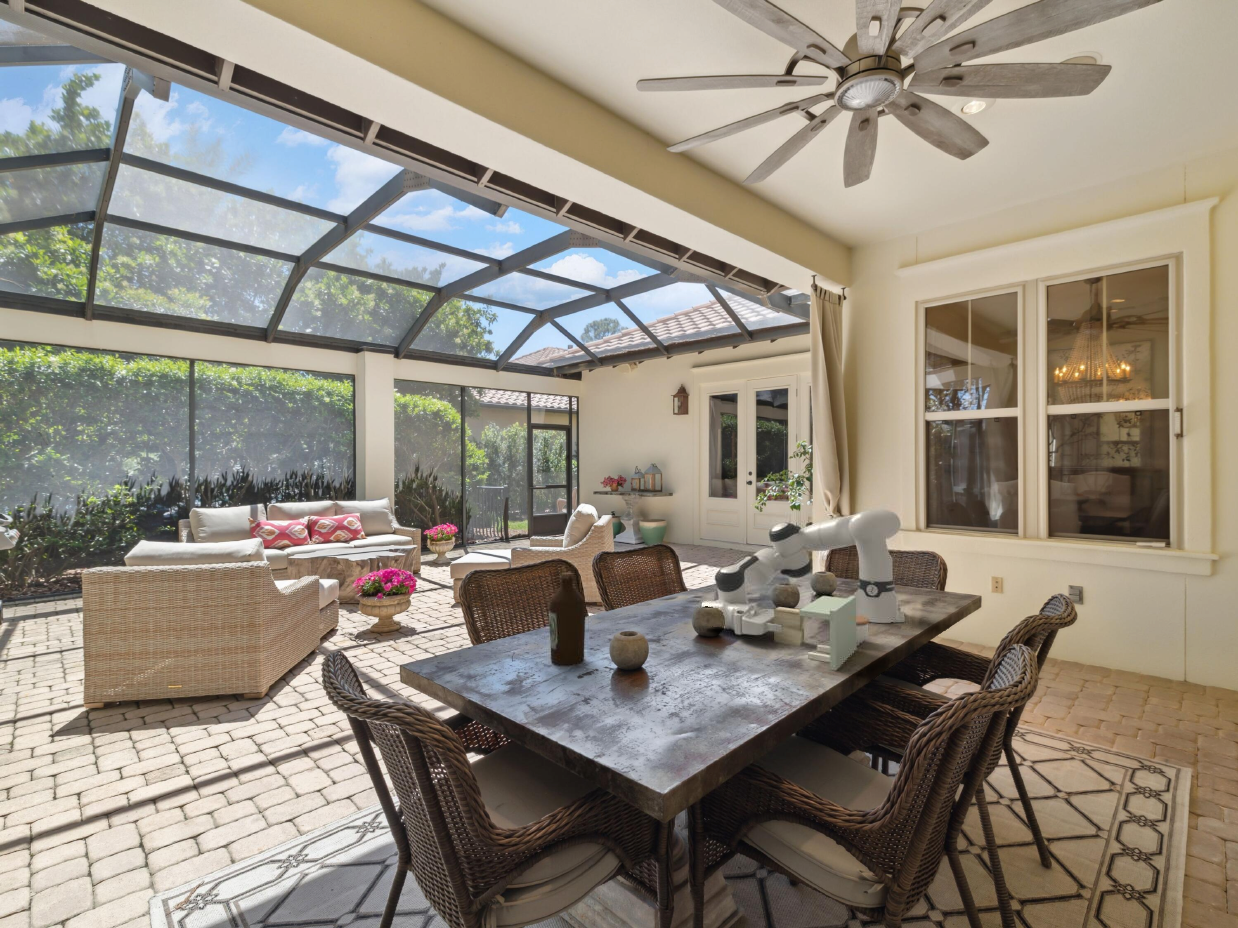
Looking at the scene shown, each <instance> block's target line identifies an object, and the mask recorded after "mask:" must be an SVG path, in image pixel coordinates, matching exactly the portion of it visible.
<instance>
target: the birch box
mask: <svg viewBox="0 0 1238 928" xmlns="http://www.w3.org/2000/svg"><path fill="white" fill-rule="evenodd" d="M773 610H774V624H782V625H783V630H782V631H773V634H774V635H773V637H774V638H773V639H774V640H773V641H774V642H775V643H782V644H786V645H792V646H798V647H800V646H801V645H802V643H803V644H804V643H805V616H799V610H800V609H797V608H789V607H782V606H778V607H777V608H775V609H773Z"/></svg>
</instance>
